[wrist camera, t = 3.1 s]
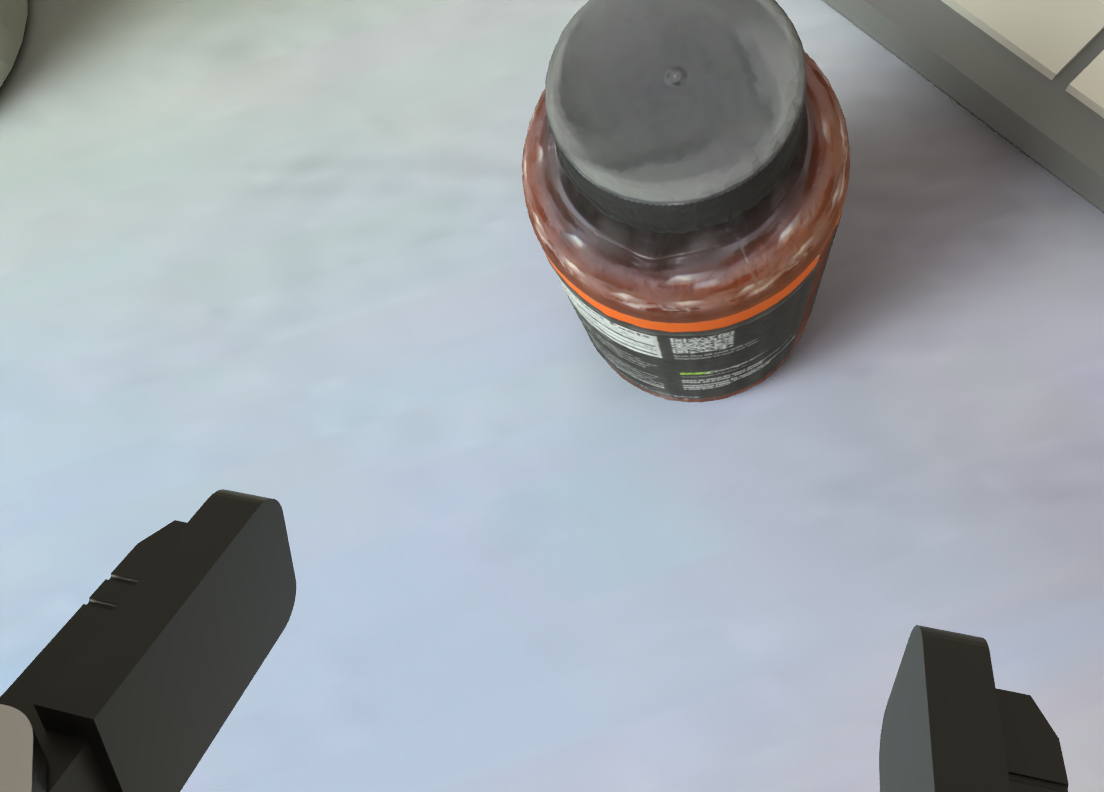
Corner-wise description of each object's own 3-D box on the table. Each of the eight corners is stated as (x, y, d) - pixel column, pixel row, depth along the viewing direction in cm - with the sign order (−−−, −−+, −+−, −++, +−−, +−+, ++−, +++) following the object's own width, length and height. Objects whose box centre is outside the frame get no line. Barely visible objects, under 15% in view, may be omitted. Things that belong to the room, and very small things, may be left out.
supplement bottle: (716, 149, 26) (717, -172, 15) (859, 316, 24) (975, 93, 14) (538, 280, 26) (413, 55, 15) (669, 454, 25) (634, 344, 14)
